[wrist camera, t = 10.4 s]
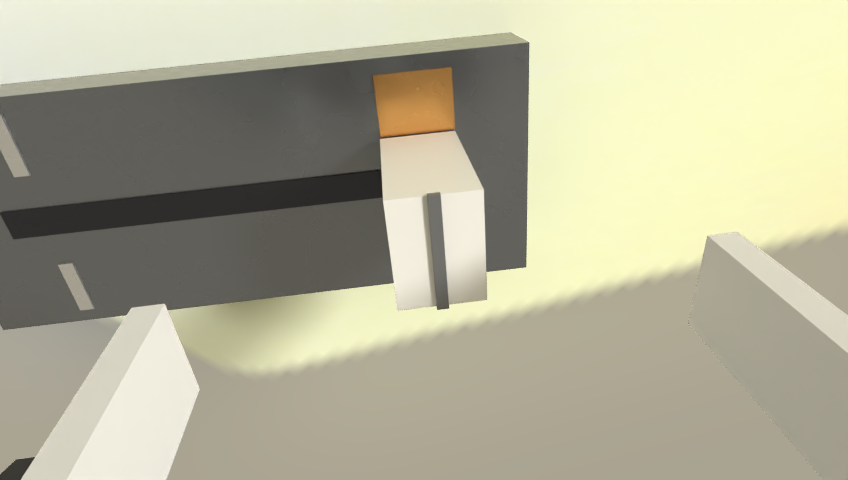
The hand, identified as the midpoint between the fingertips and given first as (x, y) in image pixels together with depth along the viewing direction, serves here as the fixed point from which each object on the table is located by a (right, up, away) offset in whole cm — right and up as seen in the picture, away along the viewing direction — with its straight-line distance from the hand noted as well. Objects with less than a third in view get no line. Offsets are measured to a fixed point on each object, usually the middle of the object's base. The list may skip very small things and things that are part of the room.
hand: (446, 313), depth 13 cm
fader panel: (-8, +5, +11) cm, 15 cm away
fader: (-1, +4, +9) cm, 10 cm away
